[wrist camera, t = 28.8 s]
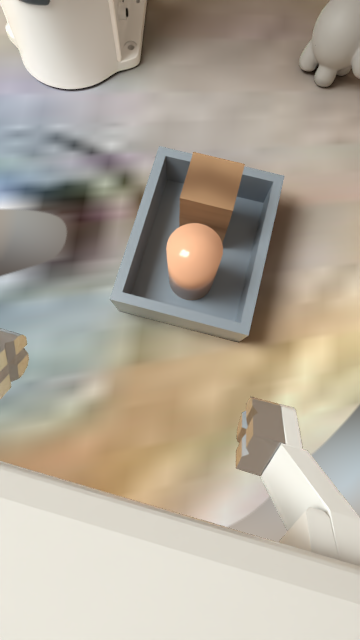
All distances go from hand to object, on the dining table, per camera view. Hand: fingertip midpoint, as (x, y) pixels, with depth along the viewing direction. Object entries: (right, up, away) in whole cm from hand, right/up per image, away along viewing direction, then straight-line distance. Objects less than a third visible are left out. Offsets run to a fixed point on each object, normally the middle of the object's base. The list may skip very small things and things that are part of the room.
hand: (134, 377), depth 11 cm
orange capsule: (+3, +7, +24) cm, 25 cm away
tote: (+4, +10, +26) cm, 28 cm away
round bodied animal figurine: (+23, +34, +31) cm, 52 cm away
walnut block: (+5, +13, +26) cm, 29 cm away
